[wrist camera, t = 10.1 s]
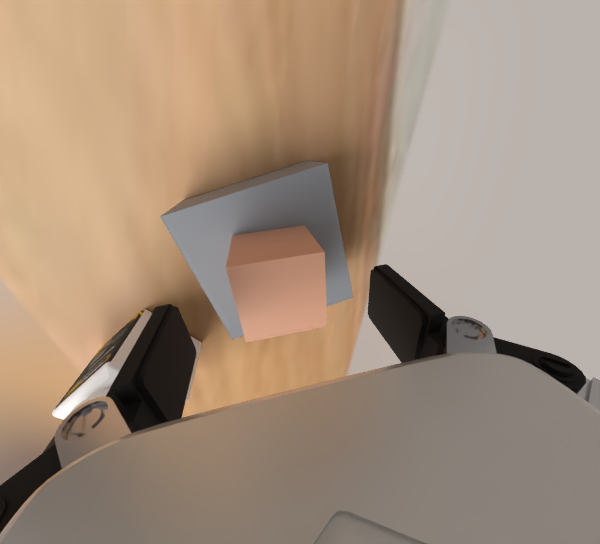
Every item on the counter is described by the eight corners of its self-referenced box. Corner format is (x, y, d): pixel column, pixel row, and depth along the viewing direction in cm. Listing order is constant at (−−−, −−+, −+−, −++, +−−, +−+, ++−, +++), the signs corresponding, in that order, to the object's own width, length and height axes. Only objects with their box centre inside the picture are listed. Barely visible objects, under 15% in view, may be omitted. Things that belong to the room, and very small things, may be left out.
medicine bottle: (145, 306, 23) (57, 437, 12) (203, 341, 26) (173, 468, 16) (99, 348, 24) (-17, 500, 13) (161, 377, 27) (107, 517, 17)
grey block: (184, 199, 19) (160, 216, 14) (306, 160, 20) (327, 162, 15) (235, 300, 25) (232, 339, 20) (331, 267, 25) (353, 297, 20)
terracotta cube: (232, 235, 16) (225, 267, 11) (304, 225, 16) (324, 251, 12) (246, 296, 18) (245, 342, 14) (309, 285, 19) (327, 326, 14)
